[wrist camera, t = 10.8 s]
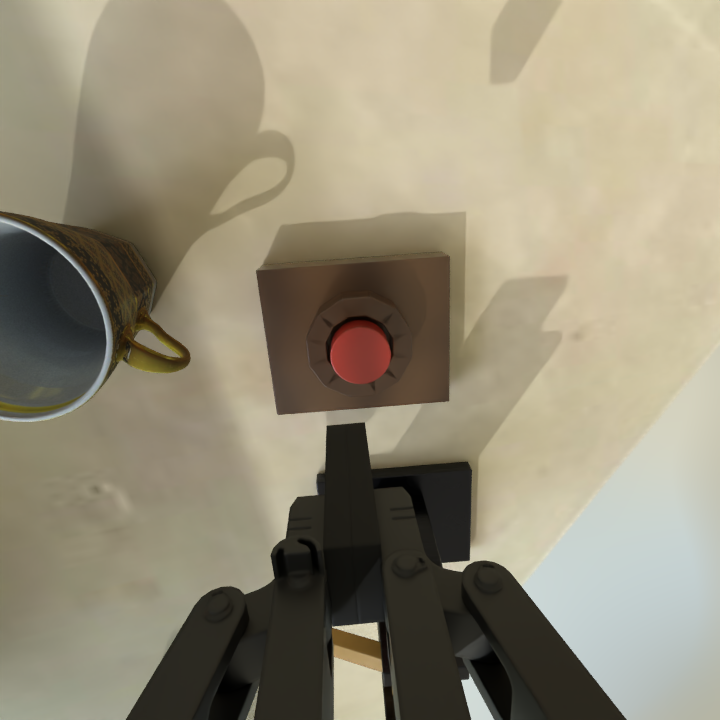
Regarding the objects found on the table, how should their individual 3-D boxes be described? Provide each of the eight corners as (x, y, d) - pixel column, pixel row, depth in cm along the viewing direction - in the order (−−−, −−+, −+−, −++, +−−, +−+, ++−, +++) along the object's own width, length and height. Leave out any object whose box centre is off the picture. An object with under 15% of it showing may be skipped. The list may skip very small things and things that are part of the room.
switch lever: (261, 612, 31) (232, 657, 29) (254, 574, 30) (223, 617, 27) (451, 669, 27) (440, 730, 24) (451, 627, 26) (440, 686, 23)
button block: (281, 401, 33) (273, 428, 30) (261, 264, 30) (250, 275, 26) (442, 388, 34) (455, 413, 30) (442, 251, 30) (456, 260, 26)
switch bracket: (327, 562, 39) (320, 767, 25) (316, 473, 36) (302, 652, 22) (466, 550, 39) (535, 747, 25) (468, 461, 36) (548, 631, 22)
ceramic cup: (17, 327, 31) (-124, 388, 21) (33, 178, 28) (-124, 172, 18) (207, 384, 33) (154, 462, 23) (243, 251, 30) (199, 280, 20)
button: (333, 375, 29) (333, 386, 27) (328, 321, 28) (327, 329, 26) (389, 371, 29) (392, 382, 27) (386, 317, 28) (389, 325, 26)
